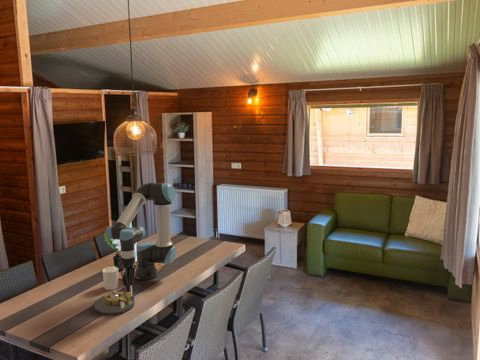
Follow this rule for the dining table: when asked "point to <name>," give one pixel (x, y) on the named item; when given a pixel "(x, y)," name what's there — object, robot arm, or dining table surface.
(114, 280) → the candle holder
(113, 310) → the bearing cap
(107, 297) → the brass lugged wrench
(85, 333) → the dining table surface
